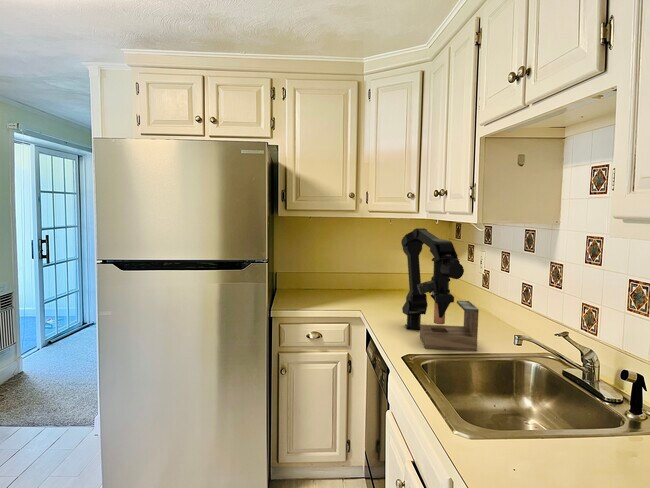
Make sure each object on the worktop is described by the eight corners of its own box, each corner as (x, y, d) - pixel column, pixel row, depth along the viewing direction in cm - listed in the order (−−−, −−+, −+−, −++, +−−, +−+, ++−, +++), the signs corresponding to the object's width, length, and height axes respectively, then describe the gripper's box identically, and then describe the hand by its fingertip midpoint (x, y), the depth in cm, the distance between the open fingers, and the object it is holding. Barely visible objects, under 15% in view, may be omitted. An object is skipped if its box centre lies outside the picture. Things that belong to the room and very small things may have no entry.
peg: (432, 321, 155) (433, 300, 155) (443, 321, 155) (444, 300, 154) (434, 324, 151) (435, 302, 151) (445, 324, 151) (446, 303, 150)
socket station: (419, 336, 161) (421, 299, 160) (467, 339, 159) (468, 300, 158) (425, 348, 147) (426, 307, 146) (476, 351, 146) (478, 309, 144)
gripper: (416, 270, 162) (414, 309, 163) (422, 278, 143) (421, 322, 144) (444, 271, 161) (443, 310, 162) (455, 279, 142) (453, 323, 143)
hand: (439, 316), depth 153 cm, fingers closed on peg, 4 cm apart
